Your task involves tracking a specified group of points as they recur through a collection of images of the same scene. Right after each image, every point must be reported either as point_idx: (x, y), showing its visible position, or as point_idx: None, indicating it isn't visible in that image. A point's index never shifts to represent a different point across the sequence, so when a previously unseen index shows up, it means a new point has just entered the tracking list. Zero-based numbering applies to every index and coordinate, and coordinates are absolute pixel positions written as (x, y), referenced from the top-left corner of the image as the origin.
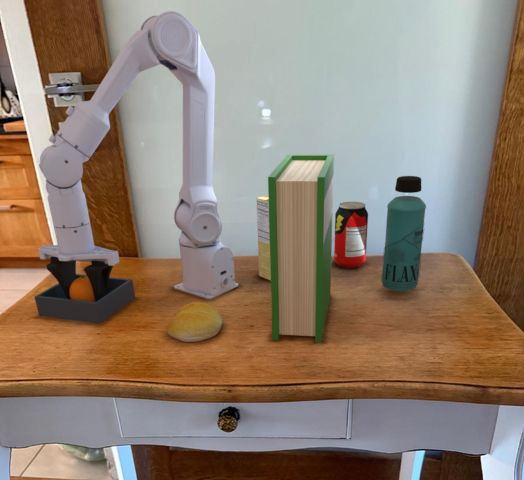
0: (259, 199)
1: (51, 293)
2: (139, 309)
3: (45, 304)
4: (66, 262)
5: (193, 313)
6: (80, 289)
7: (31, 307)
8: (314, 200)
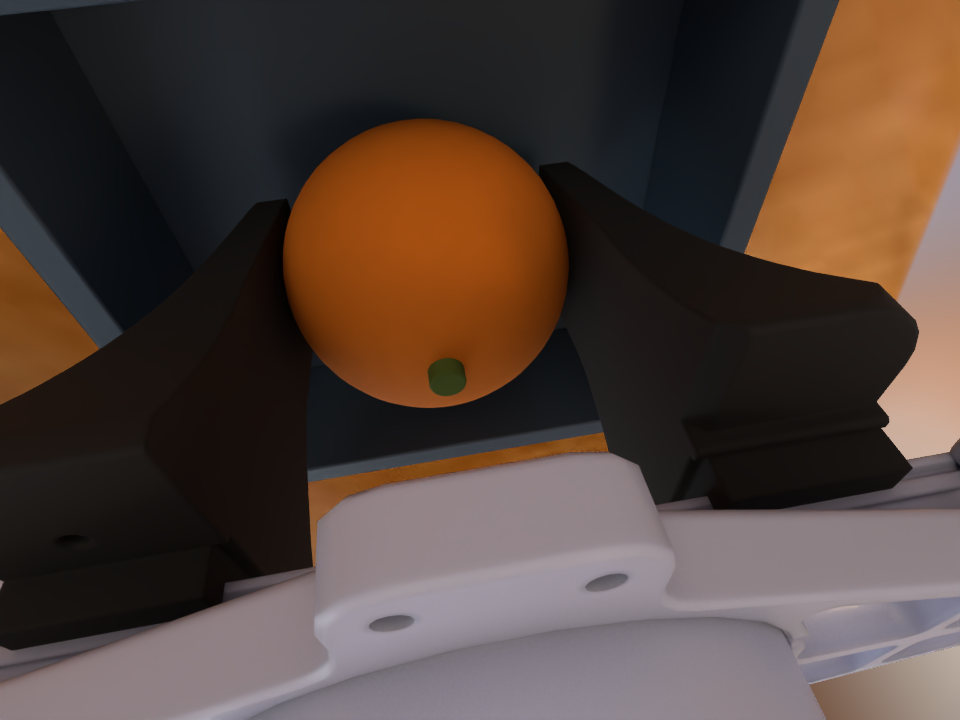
0: None
1: (729, 128)
2: (58, 303)
3: None
4: (667, 472)
5: None
6: (370, 219)
7: (883, 24)
8: None
